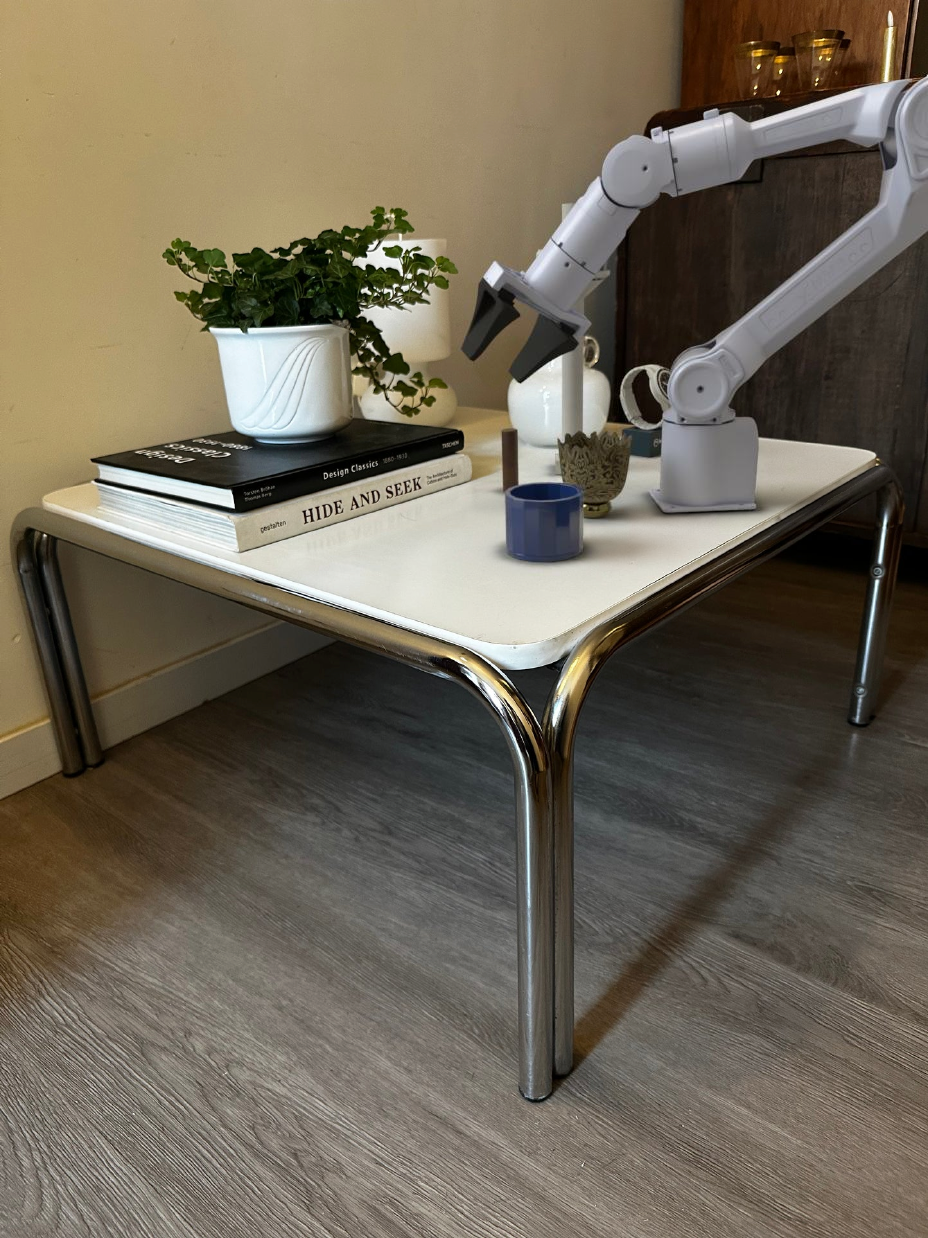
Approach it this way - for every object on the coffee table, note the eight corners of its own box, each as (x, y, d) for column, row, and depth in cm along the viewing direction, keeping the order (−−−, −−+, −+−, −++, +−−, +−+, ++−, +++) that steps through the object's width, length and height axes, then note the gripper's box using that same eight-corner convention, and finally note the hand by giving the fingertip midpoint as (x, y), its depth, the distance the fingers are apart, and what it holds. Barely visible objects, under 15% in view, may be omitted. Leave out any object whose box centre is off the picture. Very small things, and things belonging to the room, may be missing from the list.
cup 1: (577, 537, 89) (578, 480, 87) (587, 560, 82) (587, 499, 80) (504, 539, 89) (503, 483, 87) (508, 563, 82) (506, 503, 80)
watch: (662, 459, 118) (666, 370, 114) (610, 451, 123) (612, 366, 119) (686, 451, 121) (690, 364, 117) (634, 444, 127) (637, 361, 123)
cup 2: (612, 528, 91) (613, 447, 88) (545, 519, 94) (544, 441, 91) (641, 509, 97) (643, 432, 94) (576, 502, 100) (577, 427, 97)
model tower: (604, 461, 117) (609, 202, 106) (608, 477, 110) (613, 200, 98) (538, 463, 118) (536, 206, 107) (537, 478, 111) (535, 203, 99)
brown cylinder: (518, 488, 107) (517, 427, 104) (519, 492, 105) (518, 430, 102) (502, 489, 107) (501, 428, 104) (503, 493, 105) (501, 431, 102)
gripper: (594, 264, 99) (516, 366, 105) (507, 204, 89) (426, 321, 94) (630, 299, 95) (547, 403, 101) (543, 241, 85) (457, 361, 91)
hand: (491, 366), depth 98 cm, fingers open, 7 cm apart
